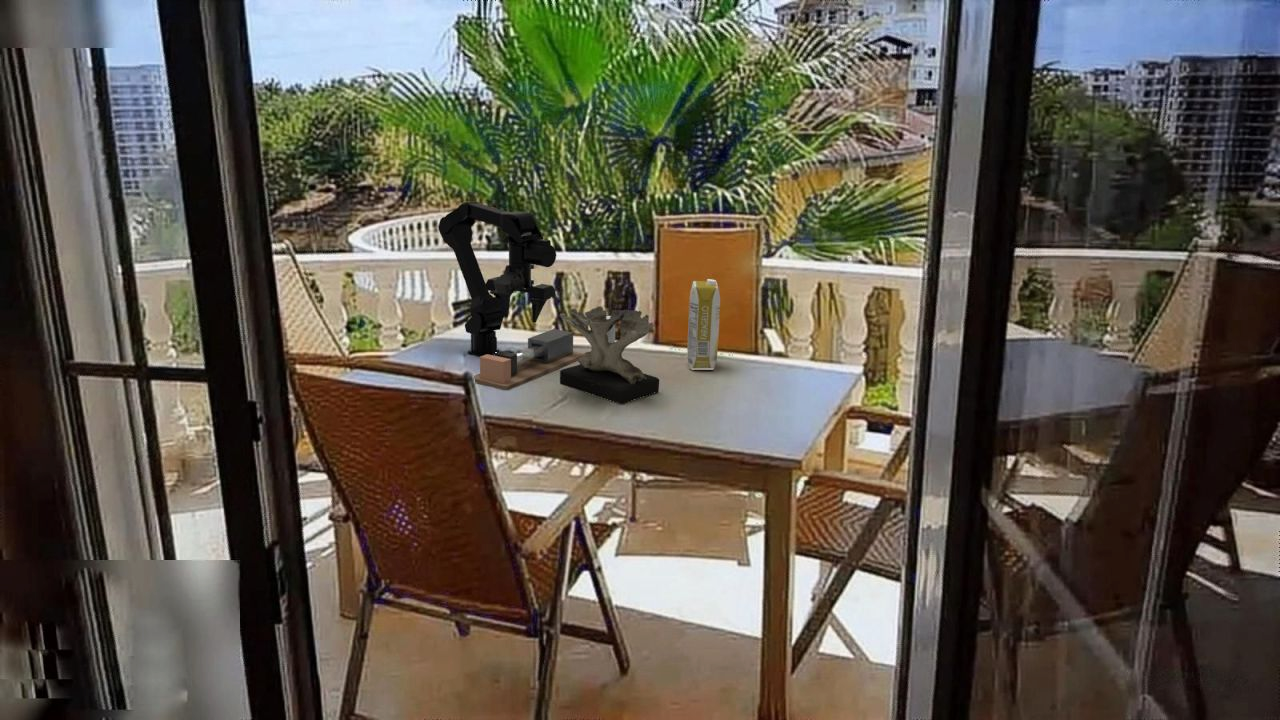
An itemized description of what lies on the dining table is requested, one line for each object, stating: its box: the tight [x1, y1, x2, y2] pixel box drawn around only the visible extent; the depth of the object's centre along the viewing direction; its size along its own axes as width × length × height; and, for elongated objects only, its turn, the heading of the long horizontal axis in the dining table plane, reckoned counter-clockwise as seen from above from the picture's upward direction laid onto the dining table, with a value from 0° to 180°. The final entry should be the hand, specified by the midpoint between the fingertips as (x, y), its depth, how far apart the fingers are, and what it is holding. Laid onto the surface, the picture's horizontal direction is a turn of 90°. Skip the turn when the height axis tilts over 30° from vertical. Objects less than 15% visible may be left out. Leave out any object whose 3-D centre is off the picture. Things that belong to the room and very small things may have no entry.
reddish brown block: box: [479, 354, 511, 383], centre depth 255 cm, size 3×7×6 cm, turn 60°
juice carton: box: [686, 278, 721, 370], centre depth 271 cm, size 9×8×24 cm
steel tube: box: [493, 344, 544, 376], centre depth 264 cm, size 21×5×5 cm, turn 150°
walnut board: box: [473, 350, 585, 391], centre depth 268 cm, size 35×12×1 cm, turn 150°
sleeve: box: [527, 328, 574, 364], centre depth 275 cm, size 12×6×6 cm, turn 150°
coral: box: [559, 305, 660, 405], centre depth 249 cm, size 25×20×22 cm
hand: (520, 319), depth 269 cm, fingers open, 9 cm apart
